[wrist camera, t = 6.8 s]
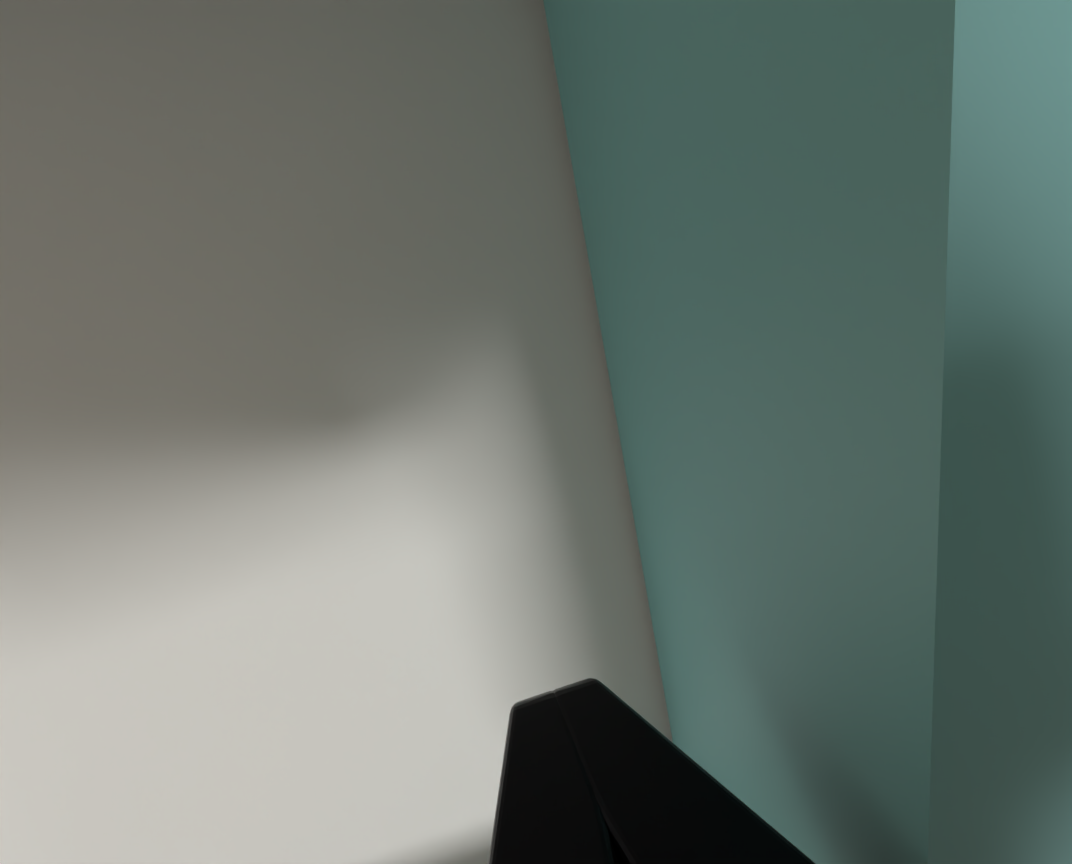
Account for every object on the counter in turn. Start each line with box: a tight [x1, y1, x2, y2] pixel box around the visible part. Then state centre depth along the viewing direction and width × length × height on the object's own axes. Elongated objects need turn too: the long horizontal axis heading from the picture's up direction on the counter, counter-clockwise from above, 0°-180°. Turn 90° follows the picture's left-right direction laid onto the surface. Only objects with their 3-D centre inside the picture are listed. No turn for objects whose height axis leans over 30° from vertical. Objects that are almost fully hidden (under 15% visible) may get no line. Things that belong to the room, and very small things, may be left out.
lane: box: [0, 0, 673, 864], centre depth 10 cm, size 17×15×3 cm
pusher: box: [543, 0, 1072, 864], centre depth 9 cm, size 1×12×6 cm, turn 11°
